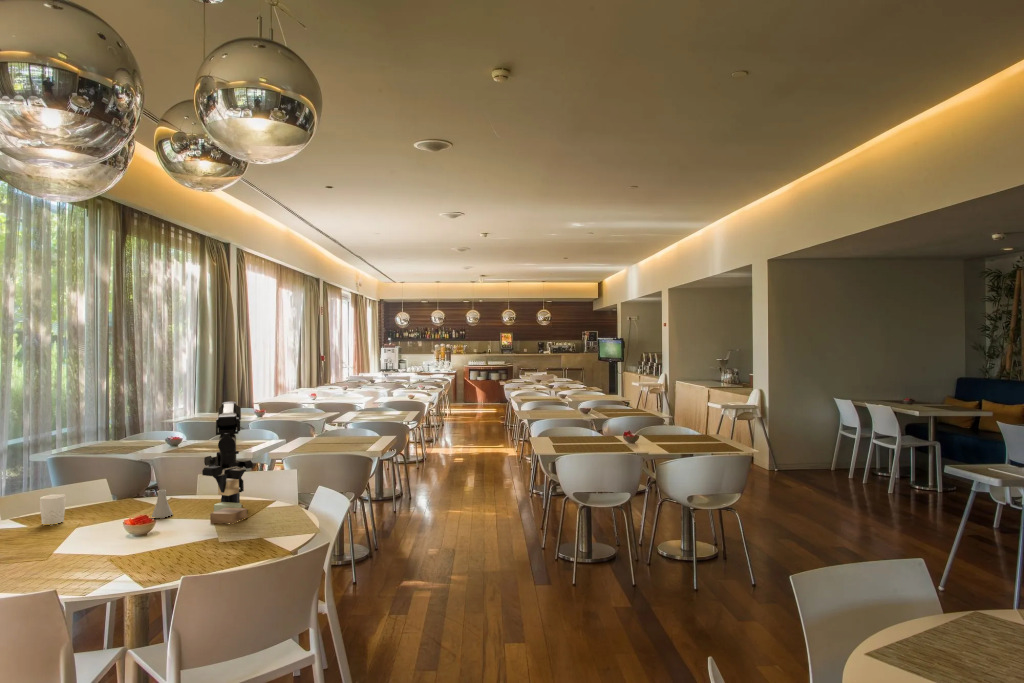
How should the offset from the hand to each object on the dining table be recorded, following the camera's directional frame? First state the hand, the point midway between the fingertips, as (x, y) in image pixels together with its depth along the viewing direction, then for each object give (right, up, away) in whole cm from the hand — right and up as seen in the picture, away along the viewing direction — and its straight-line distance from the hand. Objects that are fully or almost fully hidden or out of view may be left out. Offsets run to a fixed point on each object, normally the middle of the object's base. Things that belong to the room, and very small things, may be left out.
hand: (228, 490), depth 246 cm
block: (-5, -11, +10) cm, 16 cm away
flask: (-28, -12, +7) cm, 31 cm away
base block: (+1, -11, -1) cm, 11 cm away
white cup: (-65, -12, 0) cm, 66 cm away
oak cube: (0, -1, 0) cm, 1 cm away
